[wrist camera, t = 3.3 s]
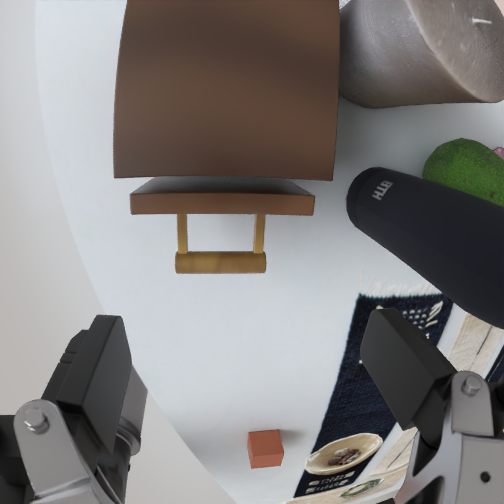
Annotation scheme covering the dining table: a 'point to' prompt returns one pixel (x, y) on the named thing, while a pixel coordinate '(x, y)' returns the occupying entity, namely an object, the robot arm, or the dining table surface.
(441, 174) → the fruit
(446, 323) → the dining table surface
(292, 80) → the cabinet
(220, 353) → the dining table surface
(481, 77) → the pillar candle
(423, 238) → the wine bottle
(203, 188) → the drawer
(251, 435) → the block
